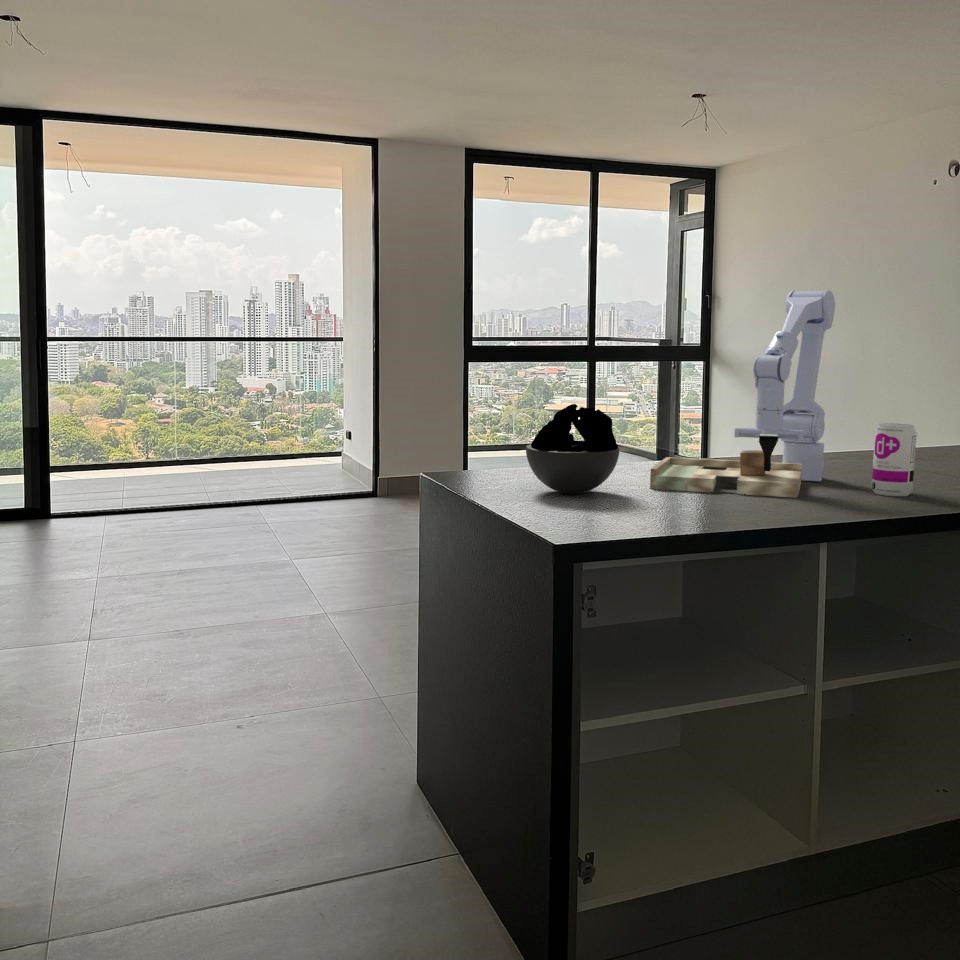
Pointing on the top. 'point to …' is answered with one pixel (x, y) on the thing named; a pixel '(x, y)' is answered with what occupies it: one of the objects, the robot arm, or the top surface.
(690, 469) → the wooden tray
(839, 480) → the top surface
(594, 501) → the top surface
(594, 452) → the bowl of black rocks
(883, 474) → the supplement can
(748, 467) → the walnut block
